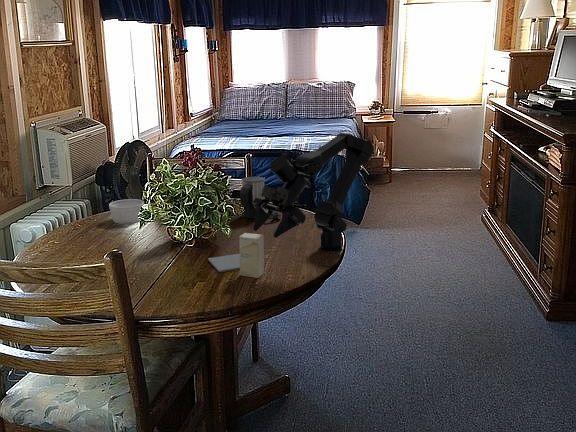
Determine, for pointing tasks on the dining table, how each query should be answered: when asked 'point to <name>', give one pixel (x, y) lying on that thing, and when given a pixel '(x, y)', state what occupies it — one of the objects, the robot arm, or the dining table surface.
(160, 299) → the dining table surface
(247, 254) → the skincare box
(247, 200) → the milk frother
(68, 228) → the dining table surface
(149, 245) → the dining table surface
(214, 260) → the slate mat
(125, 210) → the white bowl
